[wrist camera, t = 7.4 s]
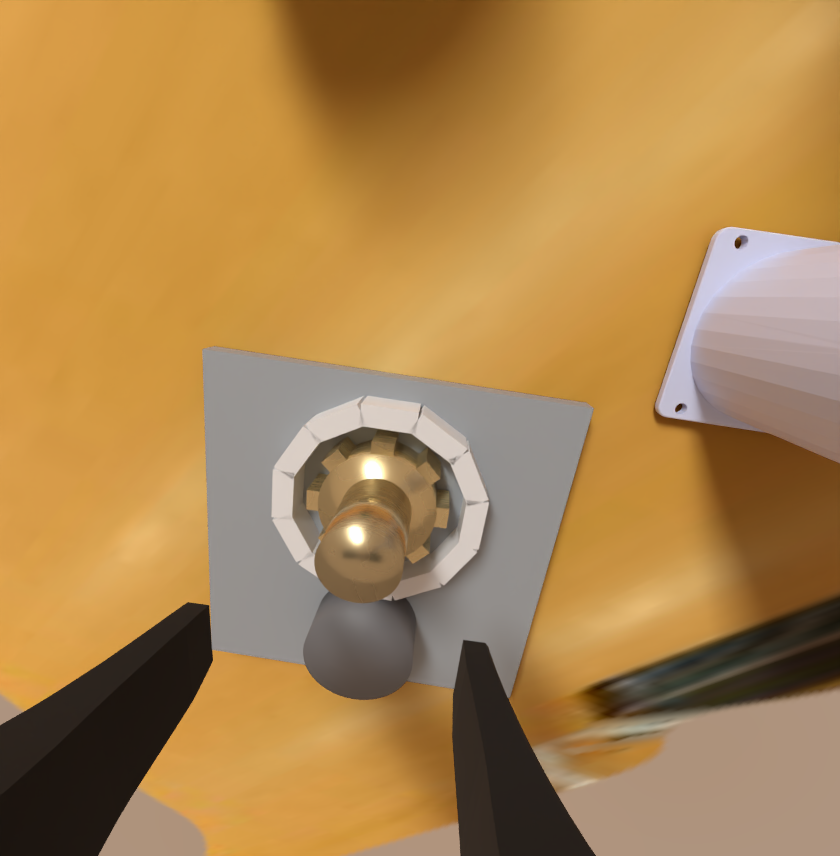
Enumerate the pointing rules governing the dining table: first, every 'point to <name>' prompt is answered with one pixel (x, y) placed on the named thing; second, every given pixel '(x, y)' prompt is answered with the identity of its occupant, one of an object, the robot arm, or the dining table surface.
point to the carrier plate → (422, 581)
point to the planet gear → (374, 514)
